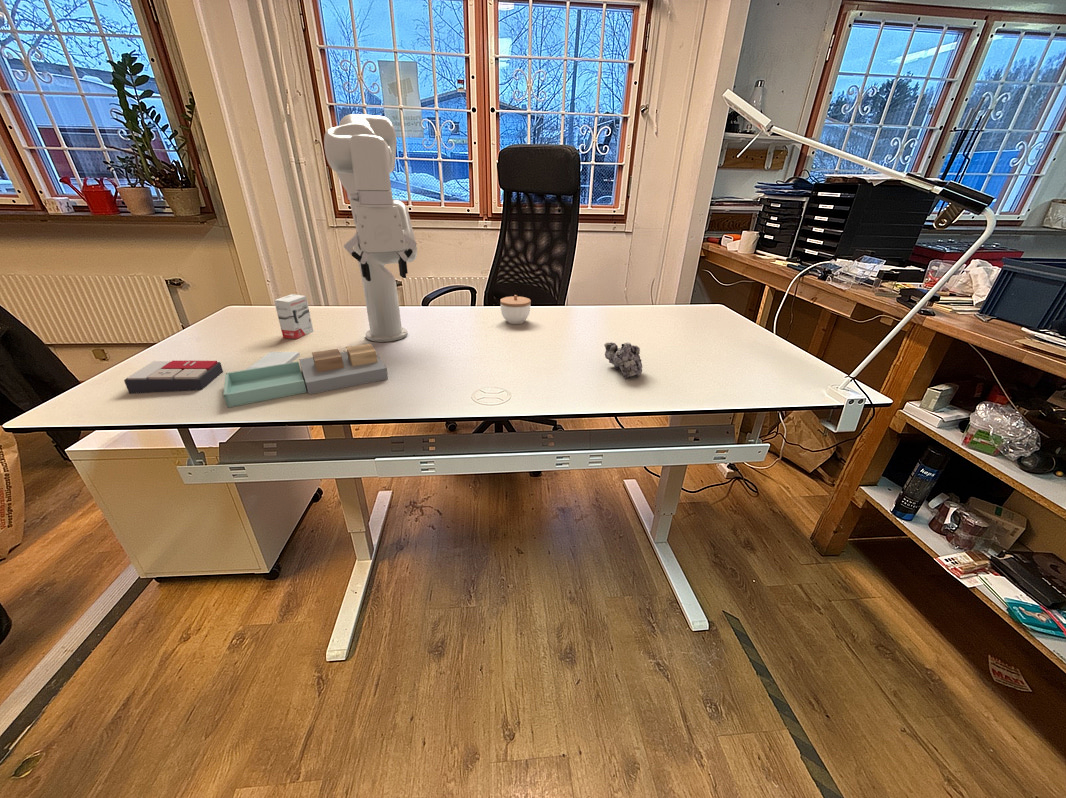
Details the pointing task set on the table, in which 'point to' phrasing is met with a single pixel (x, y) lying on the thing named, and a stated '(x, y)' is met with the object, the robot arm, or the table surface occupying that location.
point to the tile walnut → (327, 360)
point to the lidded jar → (515, 309)
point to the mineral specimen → (624, 358)
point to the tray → (263, 384)
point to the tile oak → (361, 354)
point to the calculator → (173, 376)
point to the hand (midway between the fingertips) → (386, 278)
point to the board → (341, 374)
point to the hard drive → (275, 359)
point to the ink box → (294, 316)
